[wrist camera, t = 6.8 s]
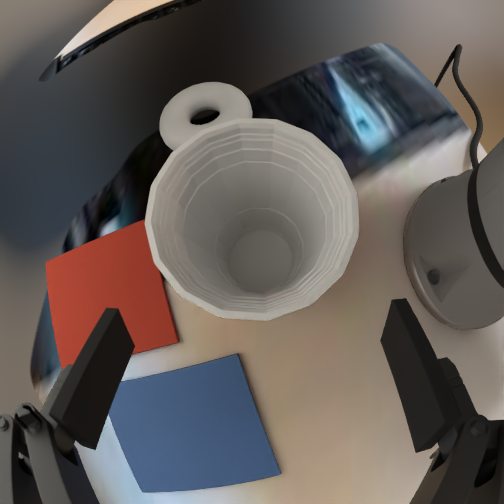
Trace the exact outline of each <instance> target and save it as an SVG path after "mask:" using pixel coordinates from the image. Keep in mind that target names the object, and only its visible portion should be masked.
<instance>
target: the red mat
mask: <svg viewBox="0 0 504 504" xmlns="http://www.w3.org/2000/svg"><path fill="white" fill-rule="evenodd" d="M46 274H47V285H48V294H49V303H50V310H51V317H52V323H53V329H54V334H55V340H56V345H57V350H58V354H59V359H60V363H61V367H62V369H64V368H65V367H66V366H67V365H68V364H71V365H73V364H74V362H75V360H76V358H77V357H78V355H79V353H80V351H81V349H82V348H83V346H84V344H85V342H86V341H87V339H88V337H89V335H90V334H91V332H92V330H93V328H94V327H95V325H96V323H97V322H98V320H99V318H100V317H101V315H102V314H103V312H104V310H105V309H106V308H118V309H119V311H120V313H121V316H122V318H123V320H124V323H125V325H126V327H127V329H128V332H129V334H130V336H131V338H132V340H133V342H134V345H135V348H134V350H133V353H132V354H135V353H140V352H144V351H147V350H151V349H155V348H159V347H163V346H167V345H170V344H174V343H178V342H179V339H178V335H177V332H176V328H175V325H174V321H173V318H172V314H171V310H170V306H169V303H168V299H167V295H166V291H165V287H164V283H163V278H162V274H161V271H160V270H159V269H158V267H157V266H156V265H155V263H154V261H153V257H152V253H151V249H150V245H149V241H148V236H147V232H146V228H145V219H144V220H141V221H139V222H136V223H134V224H131V225H129V226H127V227H124V228H122V229H119V230H117V231H114V232H112V233H110V234H107V235H105V236H103V237H100V238H98V239H96V240H93V241H91V242H89V243H86V244H84V245H82V246H80V247H77V248H75V249H73V250H71V251H69V252H66V253H64V254H62V255H60V256H58V257H56V258H53V259H51V260H49V261H48V262H46Z"/></svg>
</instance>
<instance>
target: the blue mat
mask: <svg viewBox="0 0 504 504" xmlns="http://www.w3.org/2000/svg"><path fill="white" fill-rule="evenodd" d="M109 416H110V419H111V422H112V425H113V427H114V430H115V432H116V435H117V438H118V440H119V443H120V445H121V447H122V450H123V452H124V455H125V457H126V459H127V461H128V464H129V466H130V468H131V470H132V472H133V474H134V477H135V479H136V481H137V483H138V485H139V487H140V489H141V491H142V492H170V491H185V490H196V489H205V488H213V487H221V486H227V485H233V484H239V483H245V482H250V481H255V480H259V479H264V478H268V477H272V476H276V475H280V474H281V472H280V469H279V467H278V464H277V462H276V459H275V456H274V454H273V451H272V449H271V446H270V443H269V441H268V438H267V435H266V432H265V430H264V427H263V424H262V422H261V419H260V416H259V413H258V410H257V408H256V405H255V402H254V399H253V396H252V393H251V391H250V388H249V385H248V382H247V379H246V376H245V373H244V370H243V367H242V364H241V361H240V358H239V355H238V353H237V354H234V355H230V356H227V357H223V358H220V359H216V360H213V361H209V362H205V363H202V364H198V365H194V366H190V367H186V368H182V369H178V370H174V371H170V372H165V373H161V374H157V375H152V376H147V377H143V378H138V379H133V380H128V381H123V382H120V384H119V387H118V390H117V392H116V395H115V397H114V400H113V402H112V405H111V408H110V410H109Z"/></svg>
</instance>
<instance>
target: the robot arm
mask: <svg viewBox="0 0 504 504" xmlns="http://www.w3.org/2000/svg"><path fill="white" fill-rule="evenodd" d="M461 50H462V46H461V45H460V44H458V45H457V46H456V47H455V48H454V50H453V51H452V53H451V54H450V56H449V58H448V60H447V61H446V63H445V65H444V67H443V69H442V70H441V72H440V74H439V76H438V78H437V80H436V82H435V84H434V86H435V87H436V88H437V87H438V85H439V83H440V82H441V80H442V78H443V76H444V74H445V72H446V71H447V69H448V67H449V65H450V64H451V62H452V60H453V59H454V62H453V67H452V72H453V76H454V79H455V82H456V84H457V86H458V88H459V89H460V91H461V92H462V94H463V95H464V97H465V98H466V100H467V101H468V103H469V104H470V106H471V108H472V109H473V111H474V113H475V116H476V120H477V128H476V132H475V134H474V137H473V139H472V142H471V145H470V158H471V163H472V167H473V169H471V170H468V171H466V172H463V173H461V174H460V175H458V176H452V177H447V178H444V179H441V180H439V181H437V182H435V183H433V184H432V185H430V186H429V187H428V188H427V189H426V190H425V191H424V192H423V193H422V194H421V195H420V196H419V197H418V198H417V200H416V201H415V202H414V204H413V205H412V207H411V209H410V211H409V213H408V216H407V219H406V223H405V229H404V239H403V244H404V257H405V263H406V267H407V271H408V274H409V278H410V280H411V283H412V285H413V288H414V290H415V292H416V294H417V295H418V297H419V299H420V300H421V302H422V303H423V305H424V306H425V307H426V308H427V310H428V311H429V312H430V313H431V314H432V315H433V316H434V317H435V318H437V319H438V320H439V321H441V322H442V323H444V324H446V325H448V326H450V327H453V328H456V329H462V330H469V329H478V328H483V327H487V326H489V325H491V324H493V323H495V322H496V321H498V320H499V319H501V318H502V317H503V316H504V138H503V139H502V140H501V141H500V142H499V143H498V144H497V146H496V147H495V148H493V150H492V151H491V152H490V153H489V154H488V155H487V156H486V157H485V158H484V159H483V160H482V161H481V162H480V163H478V159H477V146H478V143H479V140H480V138H481V135H482V131H483V122H482V118H481V114H480V112H479V110H478V107H477V106H476V104H475V102H474V101H473V99H472V98H471V96H470V95H469V94H468V92H467V91H466V89H465V88H464V86H463V84H462V83H461V81H460V79H459V75H458V65H459V58H460V54H461ZM380 341H381V344H382V346H383V349H384V352H385V355H386V357H387V360H388V363H389V366H390V369H391V372H392V375H393V378H394V381H395V384H396V387H397V390H398V393H399V396H400V399H401V402H402V406H403V409H404V412H405V416H406V419H407V423H408V426H409V430H410V433H411V437H412V441H413V444H414V448H415V452H416V453H417V452H421V451H424V450H427V449H430V448H432V447H433V446H434V445H435V444H436V443H437V442H438V445H439V448H438V449H437V450H436V451H435V452H434V453H433V454H432V455H431V457H430V459H432V458H433V457H434V459H433V461H432V463H431V465H430V467H429V469H428V471H427V473H426V475H425V477H424V479H423V481H422V482H421V484H420V486H419V488H418V490H417V491H416V493H415V495H414V497H413V498H412V500H411V502H410V503H409V504H504V420H492V421H491V420H488V419H487V418H486V417H484V416H483V415H478V413H477V412H476V410H475V408H474V405H473V403H472V401H471V398H470V396H469V394H468V392H467V389H466V387H465V385H464V384H463V381H462V379H461V377H460V376H459V375H460V374H459V372H458V370H457V368H456V366H455V365H454V364H453V363H452V362H451V361H450V360H449V359H448V358H447V357H446V358H442V359H437V357H436V354H435V352H434V350H433V348H432V346H431V344H430V342H429V340H428V338H427V336H426V334H425V332H424V331H423V329H422V327H421V325H420V323H419V321H418V319H417V317H416V315H415V314H414V312H413V310H412V308H411V306H410V305H409V303H408V301H407V299H406V298H403V299H394V300H392V301H391V305H390V309H389V313H388V316H387V320H386V323H385V327H384V330H383V334H382V337H381V340H380ZM134 348H135V345H134V342H133V340H132V338H131V336H130V334H129V332H128V329H127V327H126V325H125V323H124V320H123V318H122V316H121V313H120V311H119V309H118V308H106V309H105V310H104V312H103V314H102V315H101V317H100V318H99V320H98V322H97V323H96V325H95V327H94V328H93V330H92V332H91V334H90V335H89V337H88V339H87V341H86V342H85V344H84V346H83V348H82V349H81V351H80V353H79V355H78V357H77V358H76V360H75V362H74V364H73V365H71V364H68V365H67V366H66V367H65V368H64V369H63V370H62V371H61V372H60V374H59V376H58V378H57V381H56V382H55V384H54V386H53V388H52V389H51V391H50V393H49V395H48V397H47V399H46V401H45V403H44V405H43V407H42V409H41V411H40V412H38V410H37V409H36V408H35V407H34V406H33V405H31V404H30V403H22V404H21V405H19V406H18V407H17V408H16V409H15V412H14V414H13V418H12V417H11V416H10V415H9V414H2V415H0V504H100V503H99V501H98V499H97V497H96V495H95V493H94V491H93V488H92V486H91V484H90V482H89V479H88V477H87V474H86V472H85V469H84V467H83V464H82V462H81V459H80V456H79V454H78V451H77V448H76V447H75V445H74V442H75V440H76V441H77V442H78V443H79V444H81V445H82V446H84V447H87V448H90V449H94V450H96V447H97V444H98V441H99V438H100V435H101V432H102V430H103V427H104V424H105V421H106V418H107V416H108V413H109V410H110V408H111V405H112V402H113V400H114V397H115V395H116V392H117V390H118V387H119V384H120V382H121V379H122V377H123V374H124V372H125V370H126V367H127V365H128V362H129V360H130V358H131V355H132V353H133V350H134ZM19 452H20V453H21V458H19V457H18V456H19Z"/></svg>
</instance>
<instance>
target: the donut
mask: <svg viewBox="0 0 504 504" xmlns="http://www.w3.org/2000/svg"><path fill="white" fill-rule="evenodd" d="M205 110H216V111H219V112H220V115H219V116H218V117H217V118H216V119H215V120H214V121H212V122H210V123H208V124H204V125H193V124H191V123H190V121H191V119H192V118H193V117H194V116H195V115H196V114H198V113H200V112H202V111H205ZM238 118H251V119H252V109H251V105H250V102H249V99H248V98H247V97H246V96H245V95H244V93H243V92H242V91H241V90H239V89H237V88H235V87H234V86H232V85H228V84H224V83H220V82H207V83H202V84H197V85H194V86H191V87H189V88H187V89H185V90H183V91H181V92H180V93H178V94H177V95H176V96H174V97H173V98H172V99H171V100H170V102H169V103H168V104H167V105H166V106H165V108H164V110H163V112H162V115H161V117H160V134H161V136H162V138H163V140H164V142H165V144H166V145H167V146H168V147H170V148H171V149H172V150H173V151H175V150H176V149H177V148H178V147H180V146H181V145H182V144H184V143H185V142H186V141H188V140H189V139H190V138H192V137H193V136H194V135H196V134H197V133H198V132H200V131H201V130H203V129H206V128H209V127H212V126H215V125H218V124H221V123H224V122H228V121H231V120H234V119H238Z"/></svg>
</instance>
